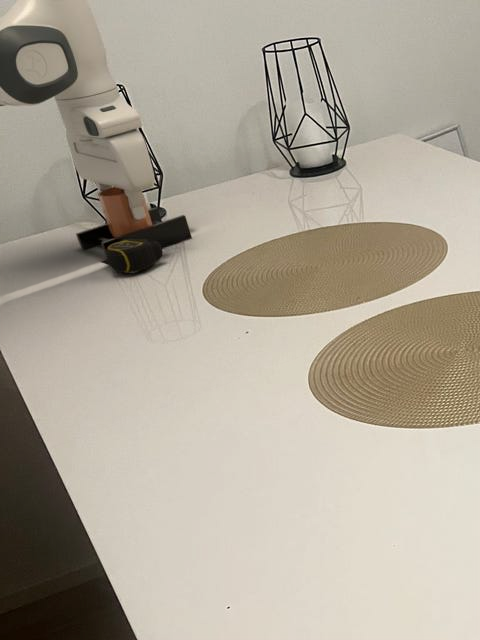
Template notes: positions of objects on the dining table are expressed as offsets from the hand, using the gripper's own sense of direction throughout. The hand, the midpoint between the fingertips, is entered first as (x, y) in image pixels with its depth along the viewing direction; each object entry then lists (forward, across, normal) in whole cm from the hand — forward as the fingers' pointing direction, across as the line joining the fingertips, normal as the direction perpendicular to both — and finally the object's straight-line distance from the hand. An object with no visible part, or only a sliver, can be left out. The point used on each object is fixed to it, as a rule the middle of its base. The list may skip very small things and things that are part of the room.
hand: (127, 214), depth 147 cm
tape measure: (+5, +10, -5) cm, 12 cm away
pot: (+2, 0, 0) cm, 2 cm away
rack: (+5, 0, 0) cm, 5 cm away
